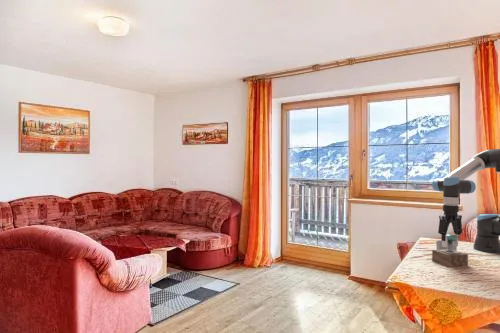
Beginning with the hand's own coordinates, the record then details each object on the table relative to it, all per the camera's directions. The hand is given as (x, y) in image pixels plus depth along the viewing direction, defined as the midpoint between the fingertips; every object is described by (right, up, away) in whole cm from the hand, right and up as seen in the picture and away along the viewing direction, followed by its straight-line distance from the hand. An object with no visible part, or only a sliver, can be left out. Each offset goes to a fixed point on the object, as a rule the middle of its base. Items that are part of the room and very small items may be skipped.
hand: (449, 246), depth 187 cm
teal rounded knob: (0, -9, 0) cm, 9 cm away
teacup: (+8, -9, +18) cm, 22 cm away
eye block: (0, -9, 0) cm, 9 cm away
